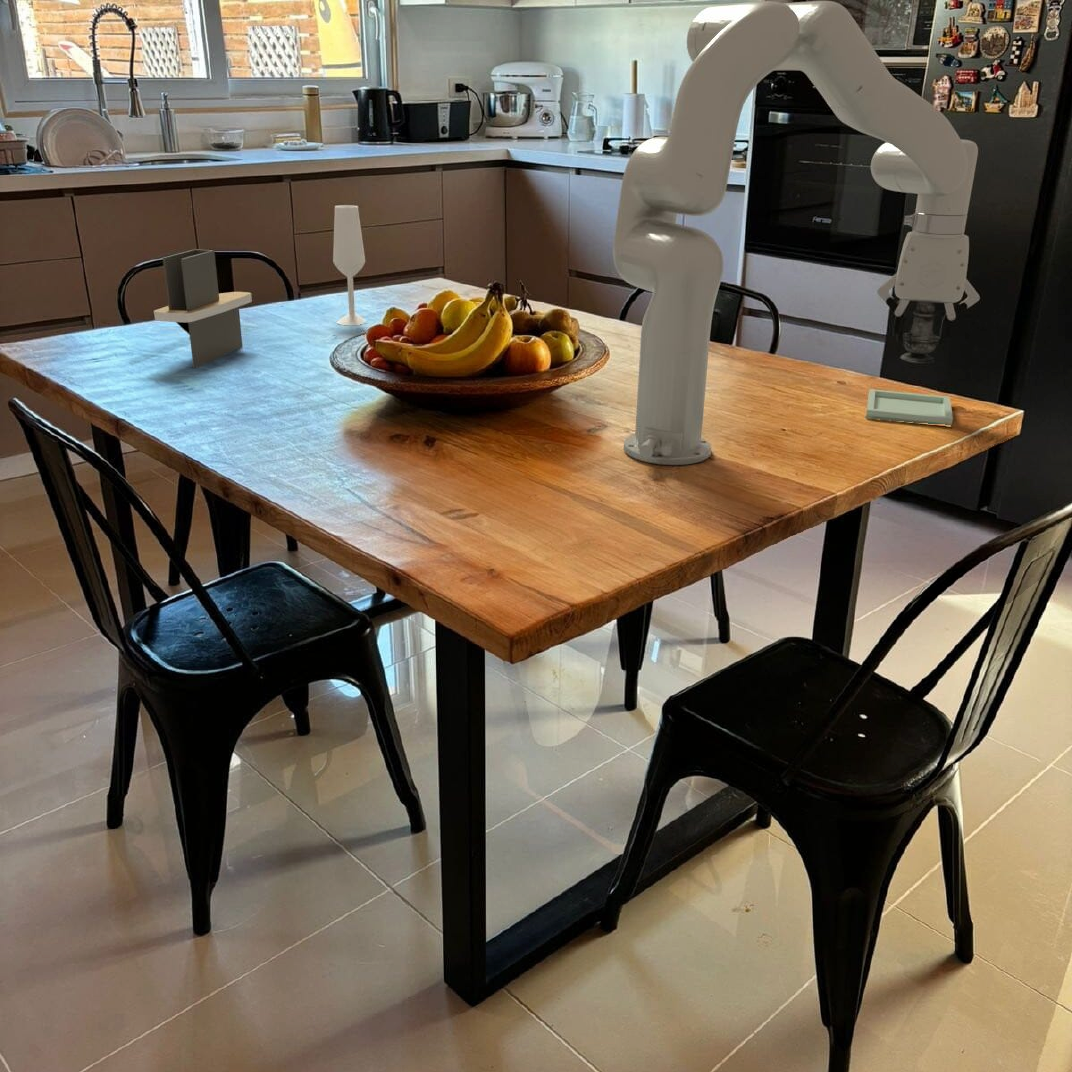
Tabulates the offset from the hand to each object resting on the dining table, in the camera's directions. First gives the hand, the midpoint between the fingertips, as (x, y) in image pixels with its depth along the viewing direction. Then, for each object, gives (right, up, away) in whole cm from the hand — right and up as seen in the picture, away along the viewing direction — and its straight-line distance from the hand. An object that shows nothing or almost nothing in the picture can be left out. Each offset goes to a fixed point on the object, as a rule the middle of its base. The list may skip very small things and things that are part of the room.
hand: (920, 340), depth 168 cm
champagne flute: (-101, +15, +59) cm, 118 cm away
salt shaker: (0, -3, +1) cm, 3 cm away
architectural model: (-123, +2, +30) cm, 127 cm away
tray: (0, -11, +5) cm, 12 cm away
